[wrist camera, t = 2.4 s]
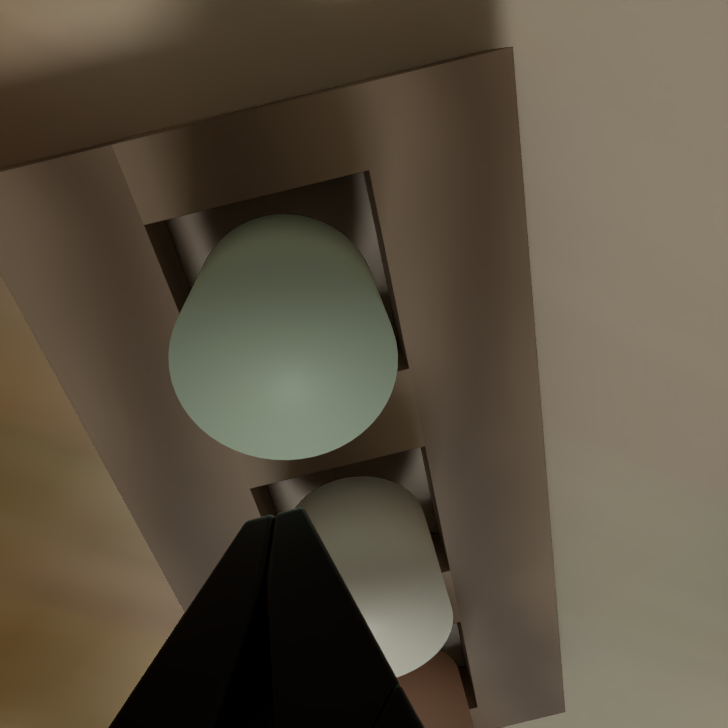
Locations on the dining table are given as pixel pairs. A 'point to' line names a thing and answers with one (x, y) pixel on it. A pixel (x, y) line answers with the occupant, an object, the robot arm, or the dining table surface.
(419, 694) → the button terracotta
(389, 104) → the button board
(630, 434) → the dining table surface
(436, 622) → the button cream
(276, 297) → the button sage
